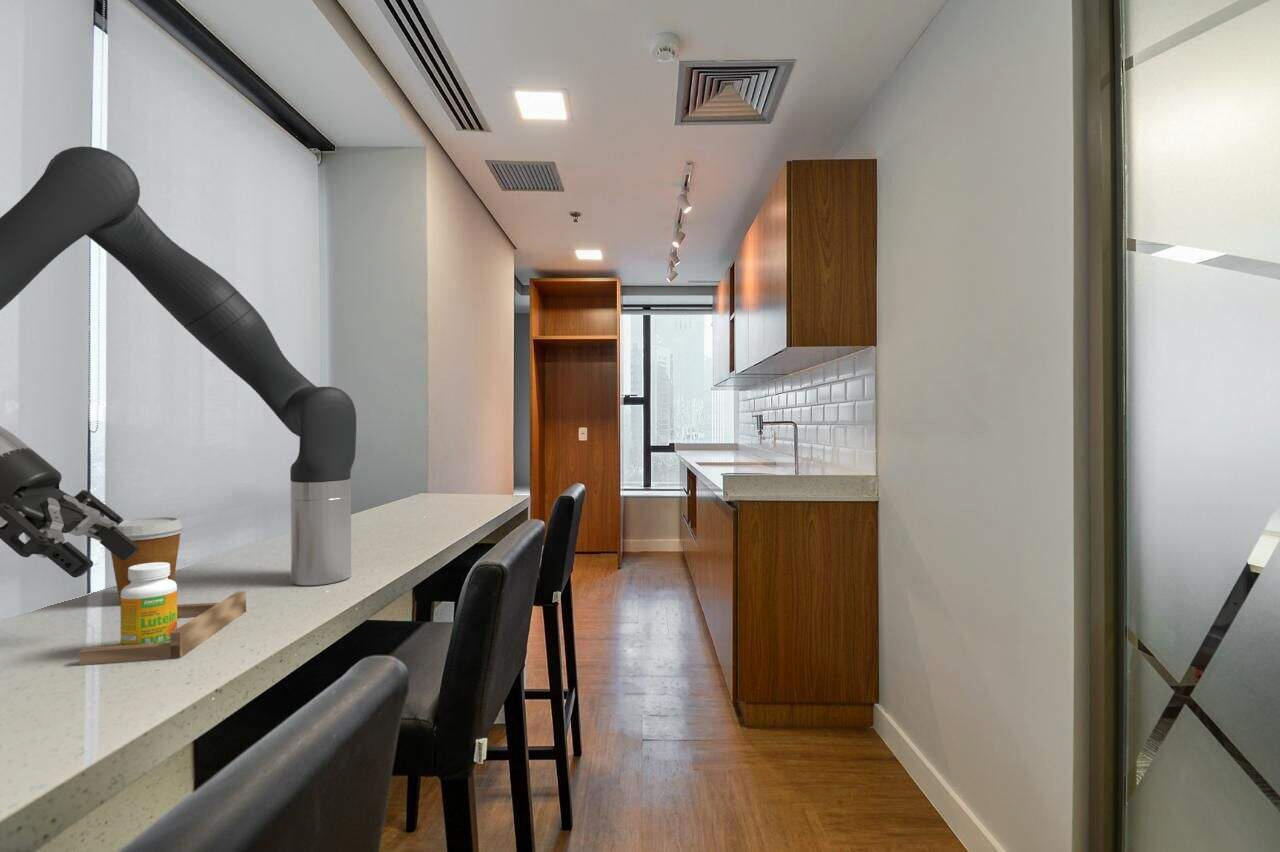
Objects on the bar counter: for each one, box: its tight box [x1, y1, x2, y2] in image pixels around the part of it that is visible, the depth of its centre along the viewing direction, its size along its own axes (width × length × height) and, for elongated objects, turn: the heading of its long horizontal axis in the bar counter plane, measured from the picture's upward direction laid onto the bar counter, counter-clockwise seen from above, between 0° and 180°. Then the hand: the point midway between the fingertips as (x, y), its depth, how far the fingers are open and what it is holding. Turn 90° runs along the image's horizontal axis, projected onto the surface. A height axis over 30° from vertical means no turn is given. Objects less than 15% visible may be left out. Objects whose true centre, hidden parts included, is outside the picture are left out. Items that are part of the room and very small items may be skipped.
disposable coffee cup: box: [110, 516, 185, 604], centre depth 94 cm, size 10×10×12 cm
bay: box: [79, 590, 247, 666], centre depth 78 cm, size 17×10×3 cm, turn 11°
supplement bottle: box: [120, 562, 178, 646], centre depth 74 cm, size 5×5×10 cm
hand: (110, 562), depth 73 cm, fingers open, 8 cm apart
